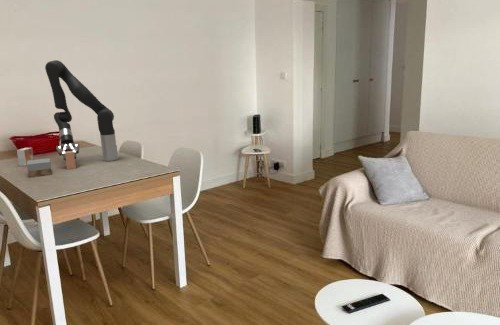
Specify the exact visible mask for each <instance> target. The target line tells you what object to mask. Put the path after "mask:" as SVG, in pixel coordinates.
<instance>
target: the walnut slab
mask: <svg viewBox="0 0 500 325" xmlns="http://www.w3.org/2000/svg"><path fill="white" fill-rule="evenodd" d="M52 172H53V171H52V168H51V169H44V170H36V171H28V170H27V173H28V178H33V177H35V178H36V177H42V176H50V175H52V174H53V173H52Z"/></svg>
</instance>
